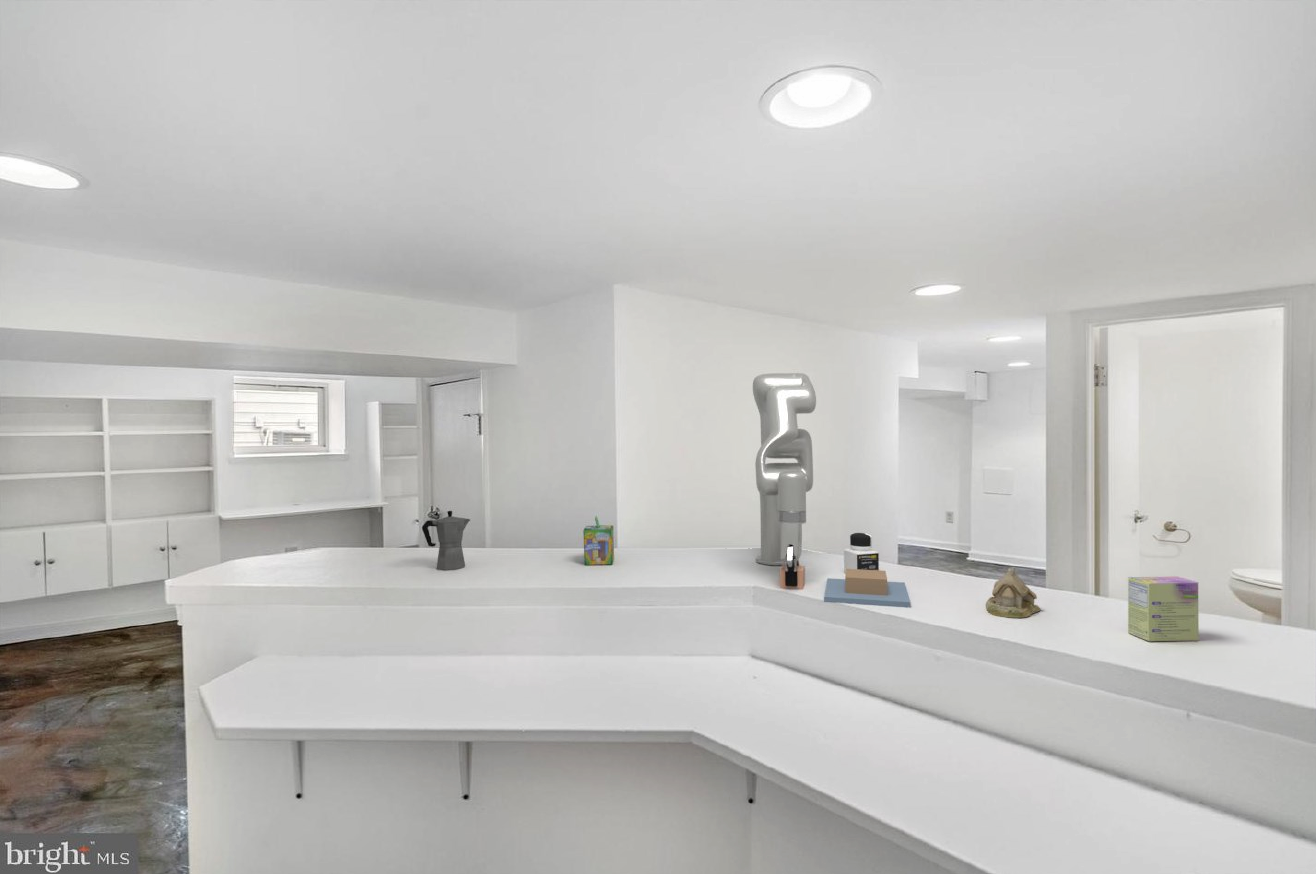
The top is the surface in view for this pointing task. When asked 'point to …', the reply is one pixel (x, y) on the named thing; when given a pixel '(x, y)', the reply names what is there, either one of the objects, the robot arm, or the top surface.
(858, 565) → the medicine bottle
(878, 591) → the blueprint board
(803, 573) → the terracotta block
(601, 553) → the chalk box
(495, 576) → the top surface
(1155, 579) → the box
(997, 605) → the ceramic model
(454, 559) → the coffeepot
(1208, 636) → the top surface
